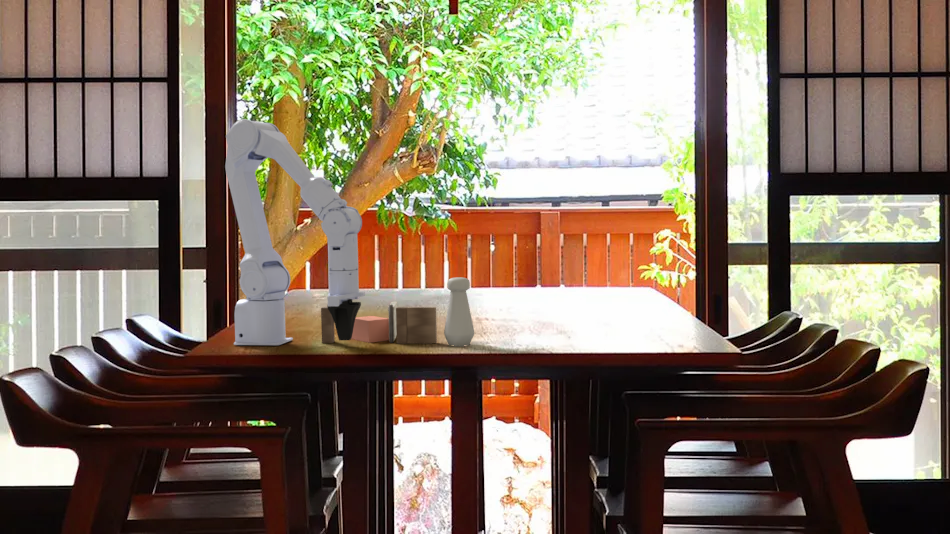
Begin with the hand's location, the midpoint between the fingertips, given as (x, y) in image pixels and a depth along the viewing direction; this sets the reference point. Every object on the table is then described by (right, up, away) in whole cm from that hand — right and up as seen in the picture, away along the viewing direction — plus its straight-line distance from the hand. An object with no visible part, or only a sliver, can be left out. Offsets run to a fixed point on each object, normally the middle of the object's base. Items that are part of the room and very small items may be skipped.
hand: (345, 339), depth 181 cm
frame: (+6, -1, +4) cm, 7 cm away
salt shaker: (+22, -1, -1) cm, 22 cm away
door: (+9, 0, +10) cm, 13 cm away
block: (+4, -1, +9) cm, 10 cm away
